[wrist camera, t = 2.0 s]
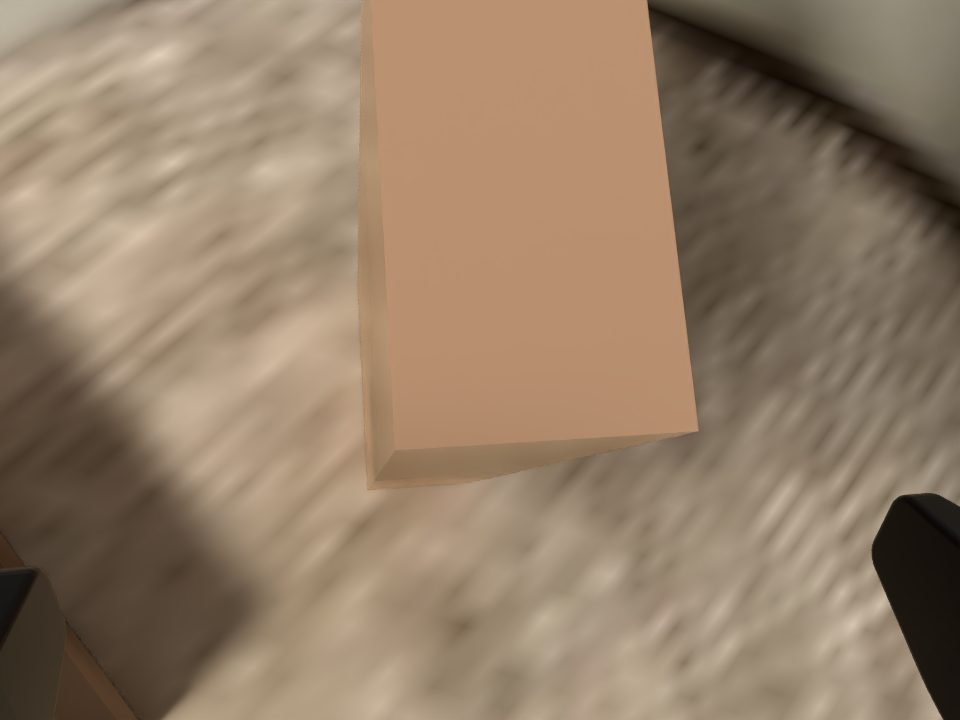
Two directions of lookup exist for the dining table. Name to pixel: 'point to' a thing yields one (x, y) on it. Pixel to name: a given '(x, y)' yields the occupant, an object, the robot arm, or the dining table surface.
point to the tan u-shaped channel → (78, 674)
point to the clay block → (514, 239)
